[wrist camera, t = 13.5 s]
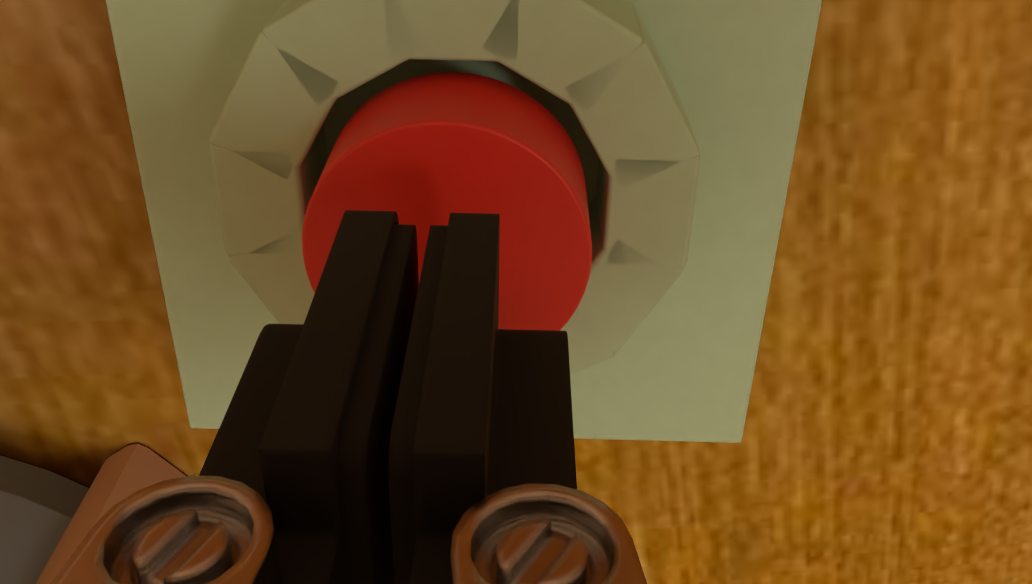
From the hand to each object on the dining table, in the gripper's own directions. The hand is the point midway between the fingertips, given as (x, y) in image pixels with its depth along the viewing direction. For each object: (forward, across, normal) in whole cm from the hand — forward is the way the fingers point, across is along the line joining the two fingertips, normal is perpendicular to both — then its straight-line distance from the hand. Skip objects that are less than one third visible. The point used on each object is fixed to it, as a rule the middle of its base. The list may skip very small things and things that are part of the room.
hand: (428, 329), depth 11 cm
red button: (+3, 0, 0) cm, 3 cm away
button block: (+7, 0, 0) cm, 7 cm away
